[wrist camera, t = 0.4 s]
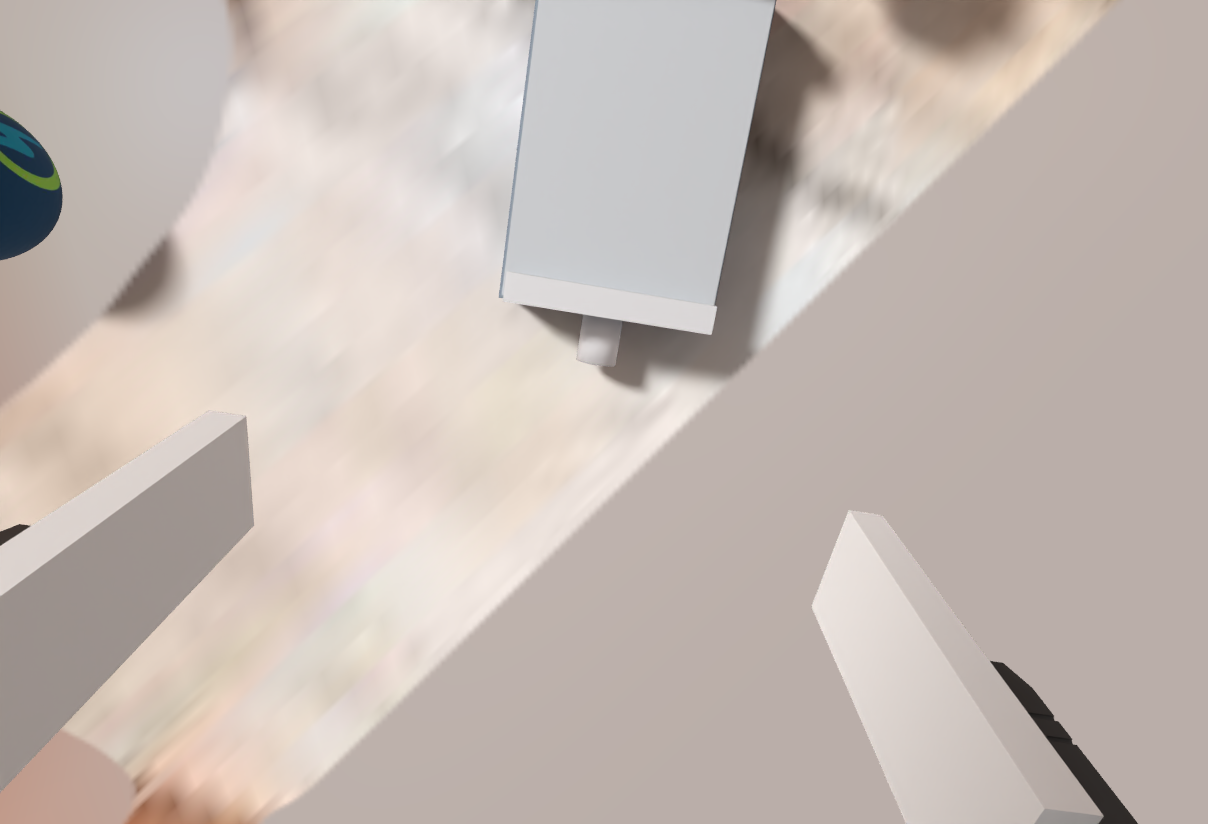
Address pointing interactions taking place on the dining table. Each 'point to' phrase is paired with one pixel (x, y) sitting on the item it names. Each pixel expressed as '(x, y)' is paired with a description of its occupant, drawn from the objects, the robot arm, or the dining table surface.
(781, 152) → the dining table surface
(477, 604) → the dining table surface
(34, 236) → the christmas ornament
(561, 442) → the dining table surface
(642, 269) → the grey piece
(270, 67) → the dining table surface
